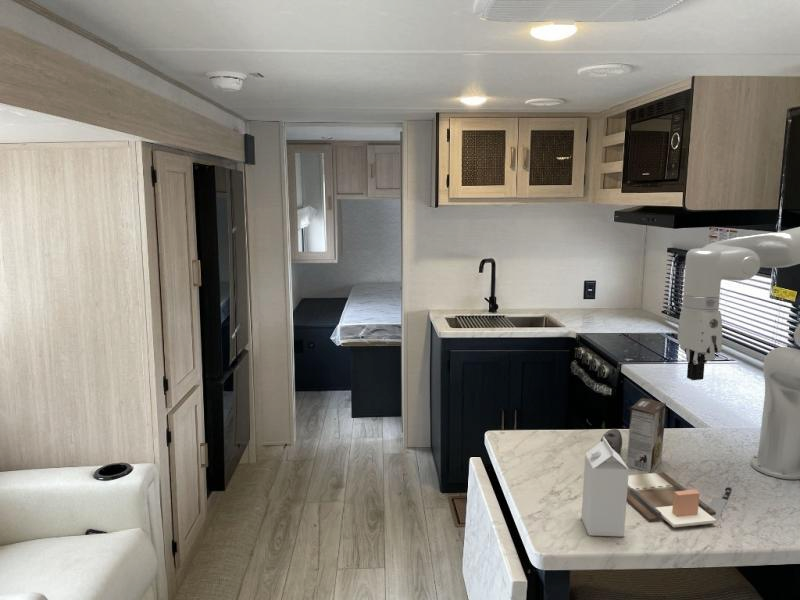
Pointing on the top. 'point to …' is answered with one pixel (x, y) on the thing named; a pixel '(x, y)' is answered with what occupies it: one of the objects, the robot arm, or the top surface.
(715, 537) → the top surface
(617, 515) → the milk carton
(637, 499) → the ticket board
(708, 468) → the top surface
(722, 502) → the chef's knife
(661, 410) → the coffee box
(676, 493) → the ticket stub
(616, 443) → the perforated stone tool
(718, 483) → the top surface
